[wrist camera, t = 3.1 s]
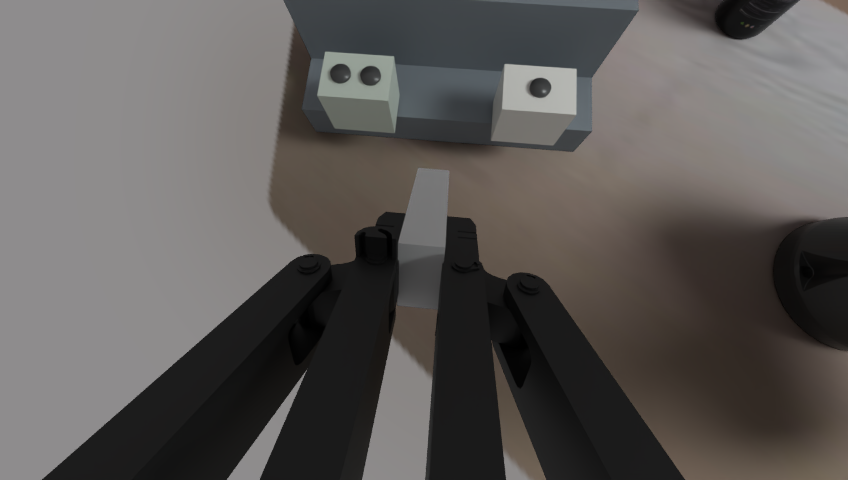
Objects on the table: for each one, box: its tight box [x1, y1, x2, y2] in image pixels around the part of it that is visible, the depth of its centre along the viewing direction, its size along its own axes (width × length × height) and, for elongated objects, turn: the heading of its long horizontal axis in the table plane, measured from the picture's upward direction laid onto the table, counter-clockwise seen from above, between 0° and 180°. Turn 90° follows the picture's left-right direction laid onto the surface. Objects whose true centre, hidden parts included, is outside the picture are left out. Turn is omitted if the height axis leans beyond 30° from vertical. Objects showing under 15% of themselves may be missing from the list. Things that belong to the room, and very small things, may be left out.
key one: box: [491, 64, 577, 146], centre depth 34 cm, size 5×7×6 cm
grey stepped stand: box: [284, 0, 639, 152], centre depth 38 cm, size 14×34×14 cm, turn 84°
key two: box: [317, 52, 400, 133], centre depth 35 cm, size 5×7×6 cm
